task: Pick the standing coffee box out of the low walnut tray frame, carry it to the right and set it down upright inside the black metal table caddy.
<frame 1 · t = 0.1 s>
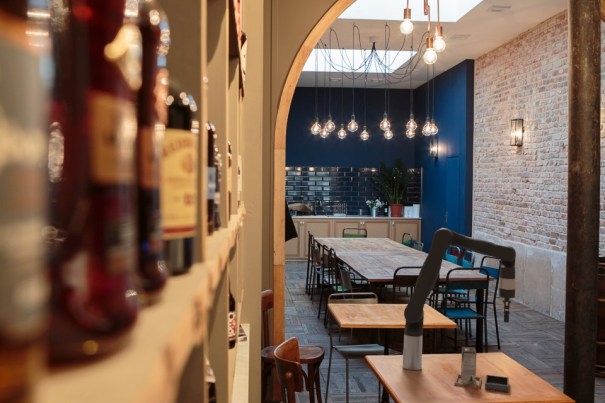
hand: (506, 320, 271), 29 cm above the table, fingers open, 8 cm apart
tray frame: (468, 382, 267), on the table
coffee box: (468, 383, 267), resting in tray frame
caddy: (496, 386, 262), on the table
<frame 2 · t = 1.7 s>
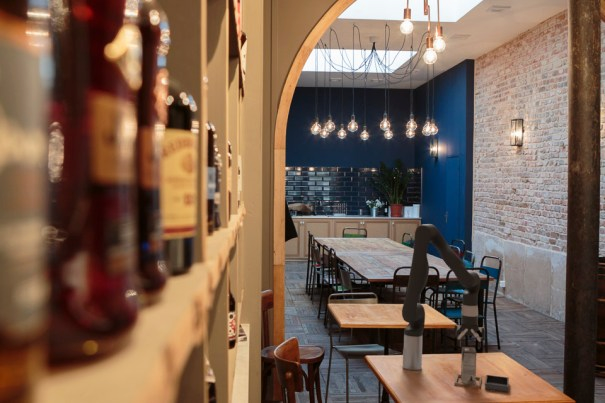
hand: (469, 347, 266), 17 cm above the table, fingers open, 8 cm apart
nothing on the table moved.
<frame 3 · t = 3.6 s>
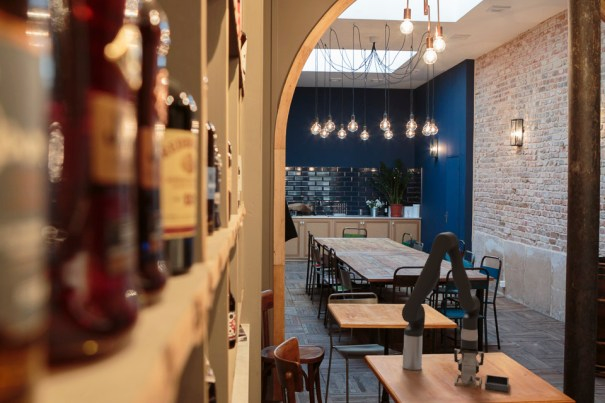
hand: (468, 372, 267), 5 cm above the table, fingers closed on coffee box, 7 cm apart
coffee box: (468, 382, 267), resting in tray frame, touching gripper
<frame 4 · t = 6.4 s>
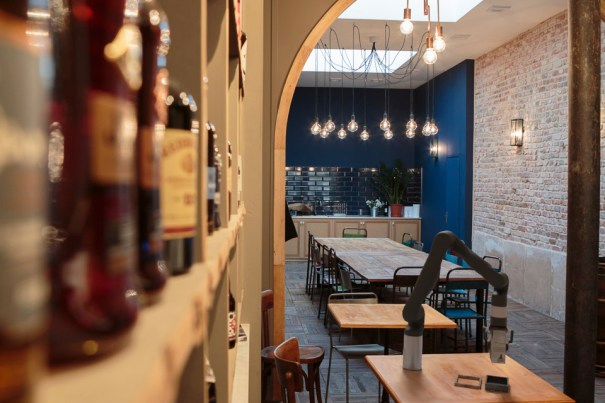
hand: (497, 350, 261), 17 cm above the table, fingers closed on coffee box, 7 cm apart
coffee box: (497, 361, 261), point 12 cm above the table, touching gripper
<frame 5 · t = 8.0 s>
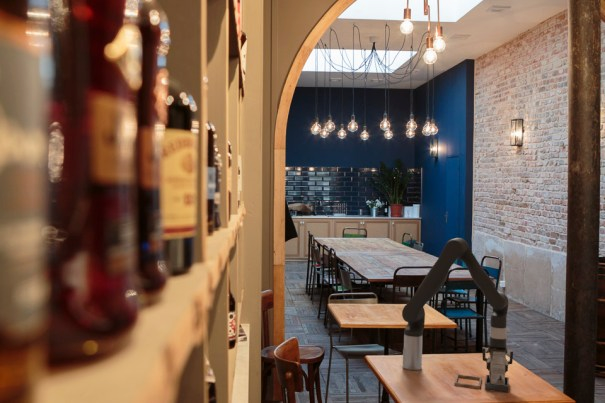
hand: (497, 371, 262), 7 cm above the table, fingers closed on coffee box, 7 cm apart
coffee box: (496, 382, 262), point 2 cm above the table, touching gripper
when the fingers open (7 cm above the table, at t = 9.1 s): coffee box drops 1 cm, resting on caddy.
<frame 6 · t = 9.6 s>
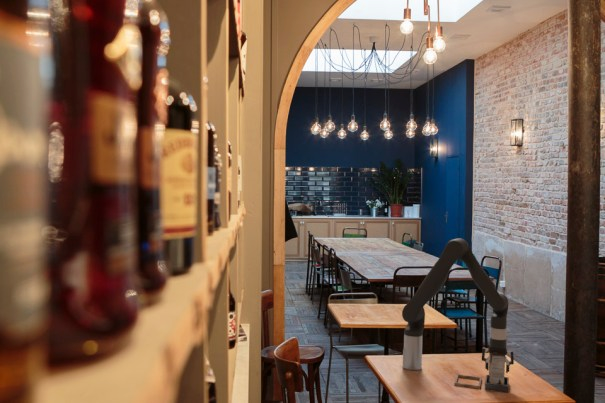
hand: (497, 371, 262), 7 cm above the table, fingers open, 8 cm apart
coffee box: (496, 386, 262), resting on caddy
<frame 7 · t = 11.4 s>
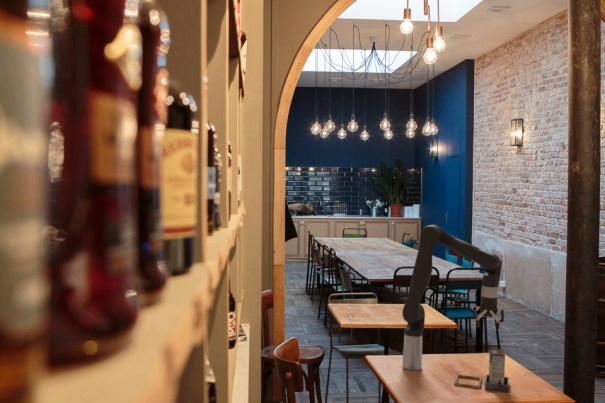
hand: (487, 328, 268), 26 cm above the table, fingers open, 8 cm apart
nothing on the table moved.
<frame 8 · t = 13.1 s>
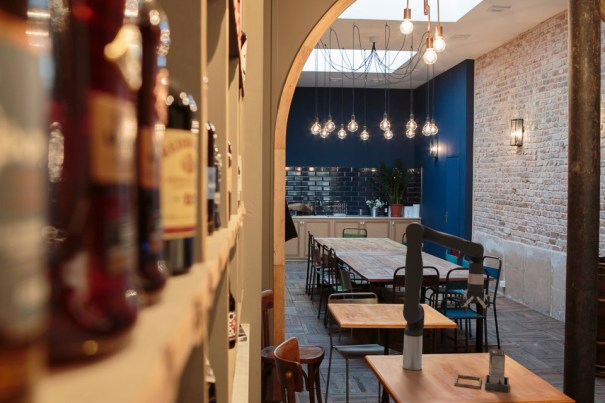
hand: (474, 314, 278), 30 cm above the table, fingers open, 8 cm apart
nothing on the table moved.
at the end: coffee box inside the target area on the caddy (0.3 cm from its centre), point 0.2 cm above the caddy's base; coffee box tilted 0°; the gripper is holding nothing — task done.
